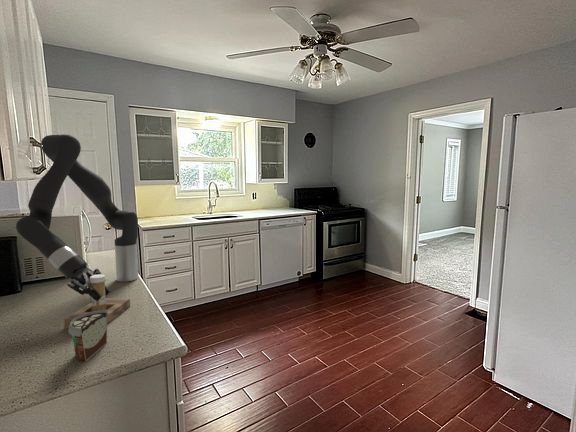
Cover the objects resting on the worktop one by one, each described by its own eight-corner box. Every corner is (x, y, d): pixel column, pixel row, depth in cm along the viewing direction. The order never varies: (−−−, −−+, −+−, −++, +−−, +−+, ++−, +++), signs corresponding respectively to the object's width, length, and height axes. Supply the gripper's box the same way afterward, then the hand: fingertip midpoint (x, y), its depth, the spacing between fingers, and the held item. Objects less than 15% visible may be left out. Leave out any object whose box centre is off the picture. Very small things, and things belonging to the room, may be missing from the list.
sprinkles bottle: (107, 313, 109) (105, 276, 107) (91, 316, 107) (89, 278, 105) (106, 308, 113) (104, 273, 111) (91, 311, 110) (89, 275, 109)
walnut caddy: (99, 305, 119) (98, 297, 119) (130, 306, 119) (129, 298, 118) (64, 327, 101) (64, 319, 101) (100, 328, 101) (100, 320, 100)
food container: (90, 340, 94) (88, 308, 93) (110, 340, 94) (108, 309, 93) (59, 364, 82) (56, 328, 81) (81, 365, 82) (79, 329, 80)
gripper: (59, 260, 100) (98, 297, 101) (88, 250, 114) (122, 282, 116) (44, 275, 101) (83, 311, 102) (75, 263, 115) (109, 295, 116)
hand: (103, 296), depth 109 cm, fingers closed on sprinkles bottle, 4 cm apart
